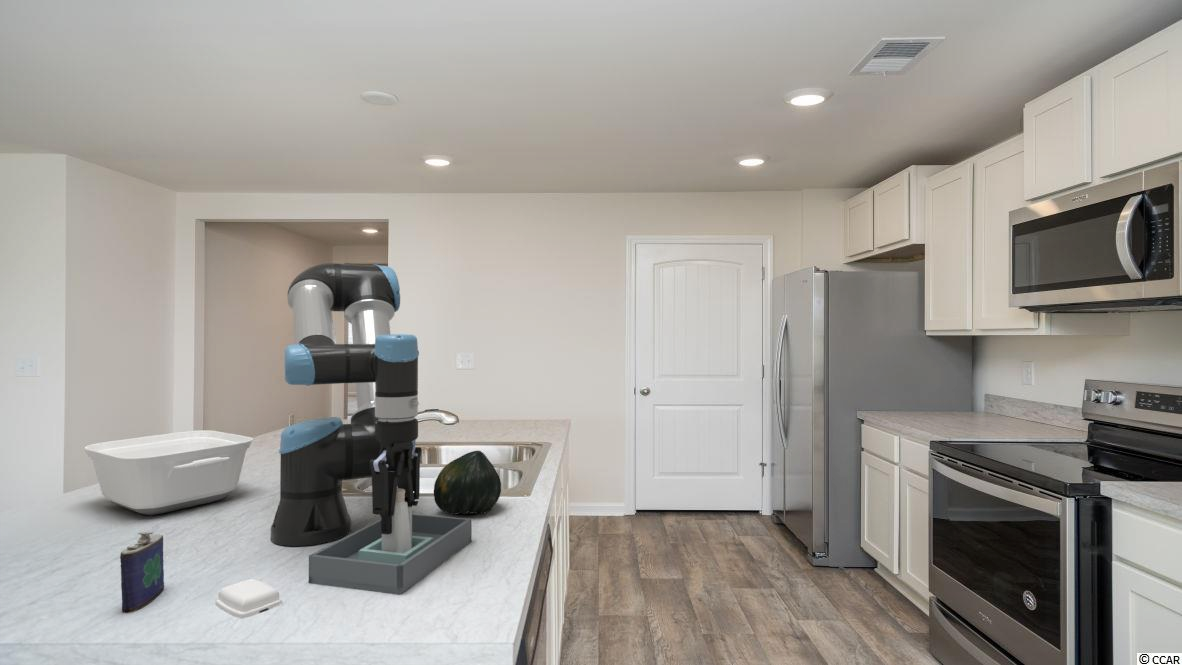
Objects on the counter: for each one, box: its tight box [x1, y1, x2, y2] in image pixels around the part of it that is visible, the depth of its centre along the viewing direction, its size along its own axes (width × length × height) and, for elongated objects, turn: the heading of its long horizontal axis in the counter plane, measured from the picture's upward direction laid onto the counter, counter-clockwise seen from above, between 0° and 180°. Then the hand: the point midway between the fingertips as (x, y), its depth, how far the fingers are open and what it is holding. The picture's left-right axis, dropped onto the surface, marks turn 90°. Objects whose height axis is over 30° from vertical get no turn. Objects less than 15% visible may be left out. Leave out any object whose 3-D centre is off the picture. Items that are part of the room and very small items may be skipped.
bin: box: [308, 513, 473, 595], centre depth 115 cm, size 17×25×4 cm
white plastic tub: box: [83, 429, 254, 516], centre depth 151 cm, size 34×29×15 cm
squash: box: [433, 450, 502, 515], centre depth 144 cm, size 14×15×15 cm
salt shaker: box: [389, 487, 412, 553], centre depth 115 cm, size 5×5×11 cm
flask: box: [119, 531, 165, 614], centre depth 98 cm, size 9×3×11 cm, turn 8°
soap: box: [215, 578, 283, 619], centre depth 97 cm, size 9×7×3 cm
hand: (397, 545), depth 115 cm, fingers closed on salt shaker, 4 cm apart
